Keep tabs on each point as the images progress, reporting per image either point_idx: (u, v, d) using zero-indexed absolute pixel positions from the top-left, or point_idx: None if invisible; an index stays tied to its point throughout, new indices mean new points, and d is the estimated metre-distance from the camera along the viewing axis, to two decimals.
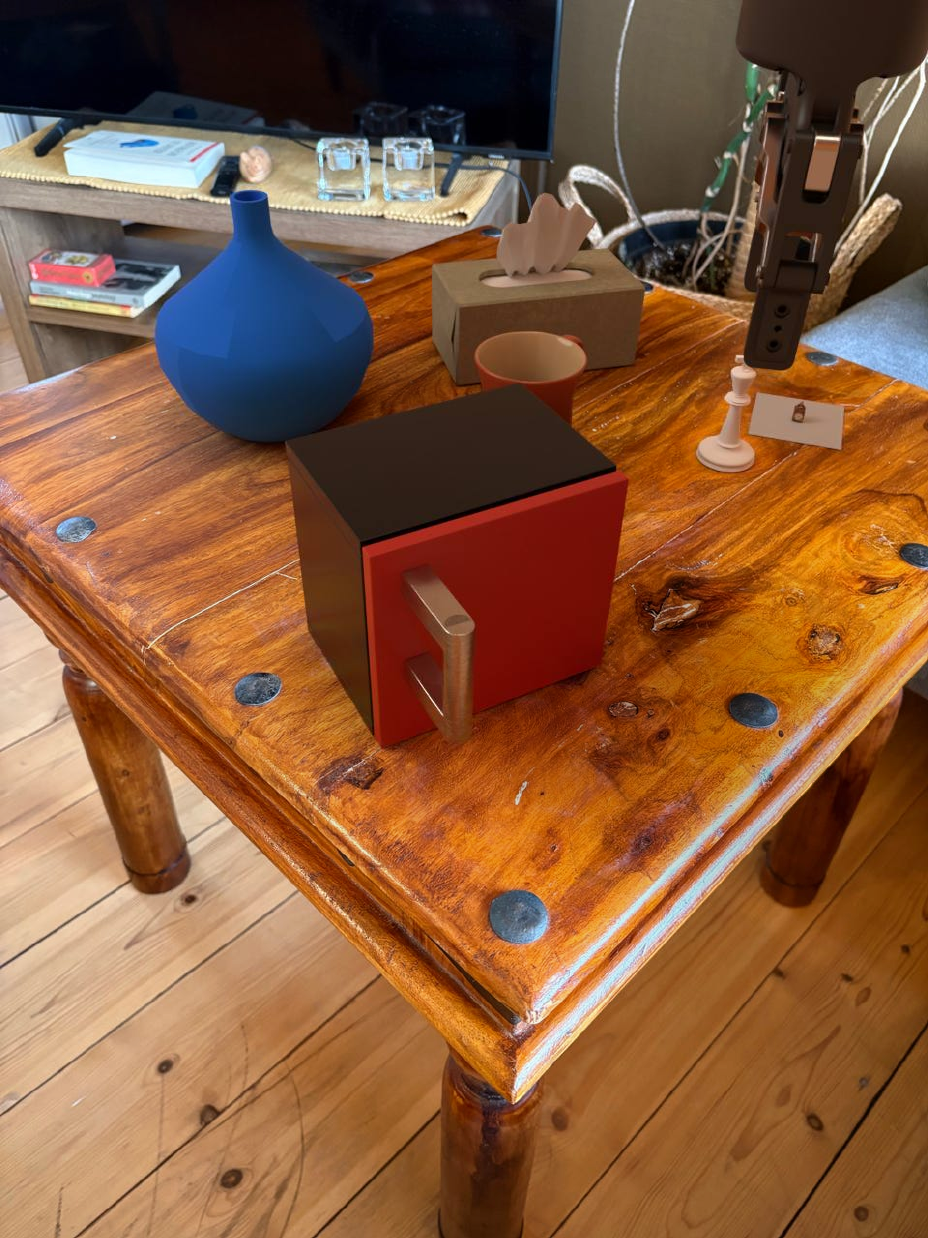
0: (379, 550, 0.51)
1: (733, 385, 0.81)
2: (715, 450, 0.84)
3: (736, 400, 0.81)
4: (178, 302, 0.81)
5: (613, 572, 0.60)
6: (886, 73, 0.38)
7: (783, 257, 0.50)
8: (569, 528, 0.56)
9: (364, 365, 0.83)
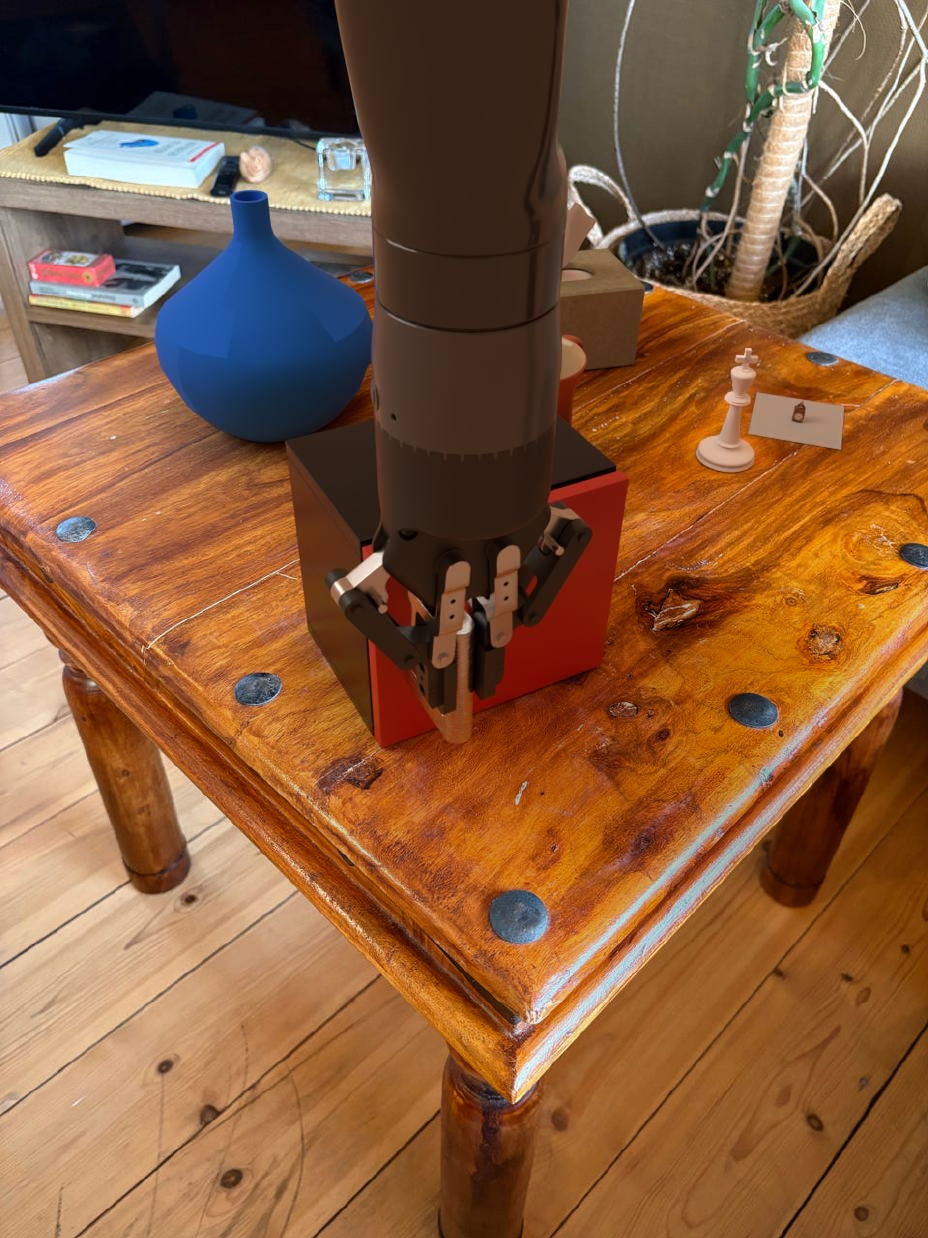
0: None
1: (733, 385, 0.81)
2: (715, 450, 0.84)
3: (736, 400, 0.81)
4: (178, 302, 0.81)
5: (613, 572, 0.60)
6: (420, 532, 0.41)
7: (479, 671, 0.50)
8: None
9: (364, 365, 0.83)
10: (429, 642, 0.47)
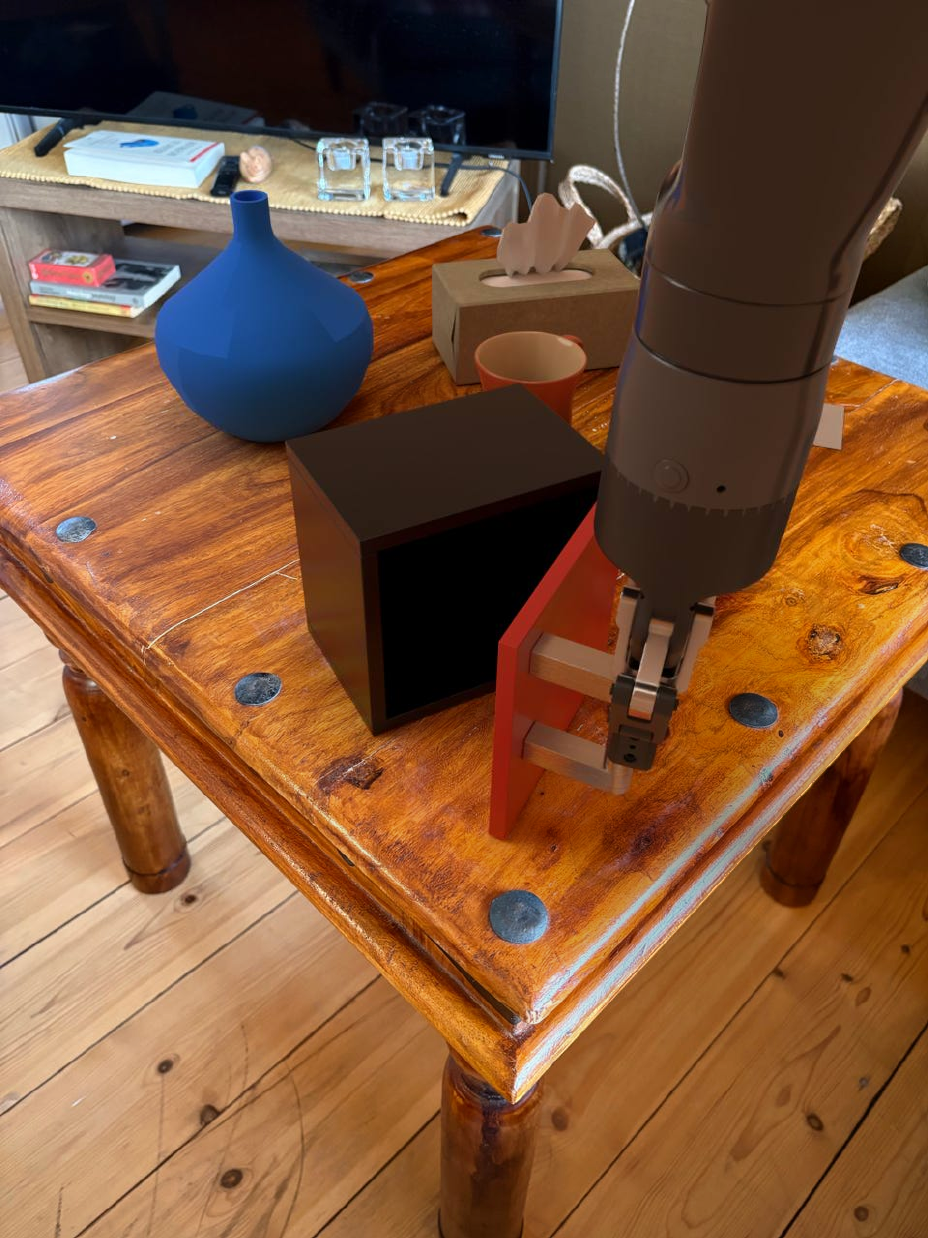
0: (518, 637, 0.46)
1: None
2: None
3: None
4: (178, 302, 0.81)
5: None
6: (723, 594, 0.38)
7: None
8: None
9: (364, 365, 0.83)
10: None
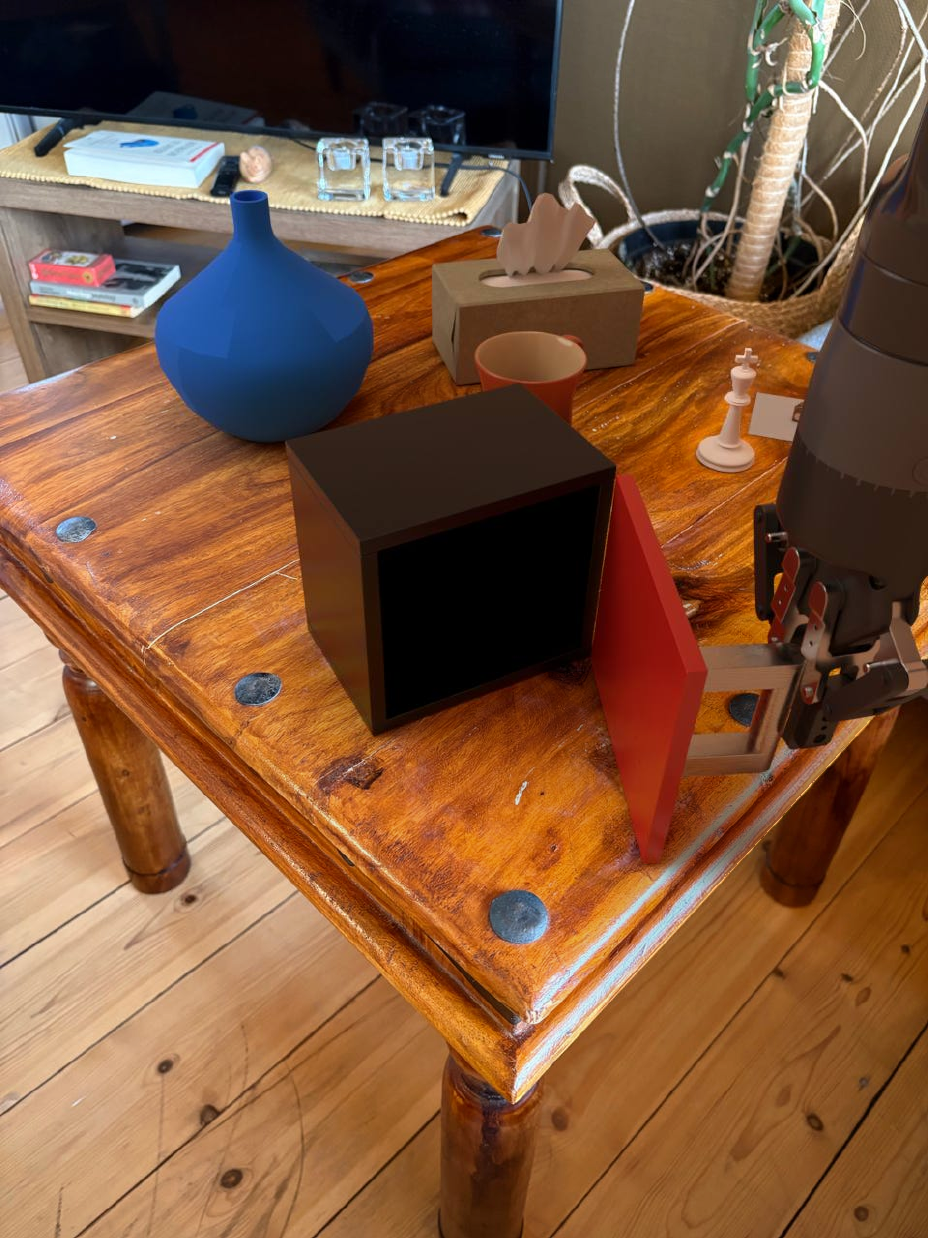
0: (698, 660, 0.45)
1: (733, 385, 0.81)
2: (715, 450, 0.84)
3: (736, 400, 0.81)
4: (178, 302, 0.81)
5: None
6: None
7: (800, 683, 0.51)
8: None
9: (364, 365, 0.83)
10: (855, 679, 0.46)
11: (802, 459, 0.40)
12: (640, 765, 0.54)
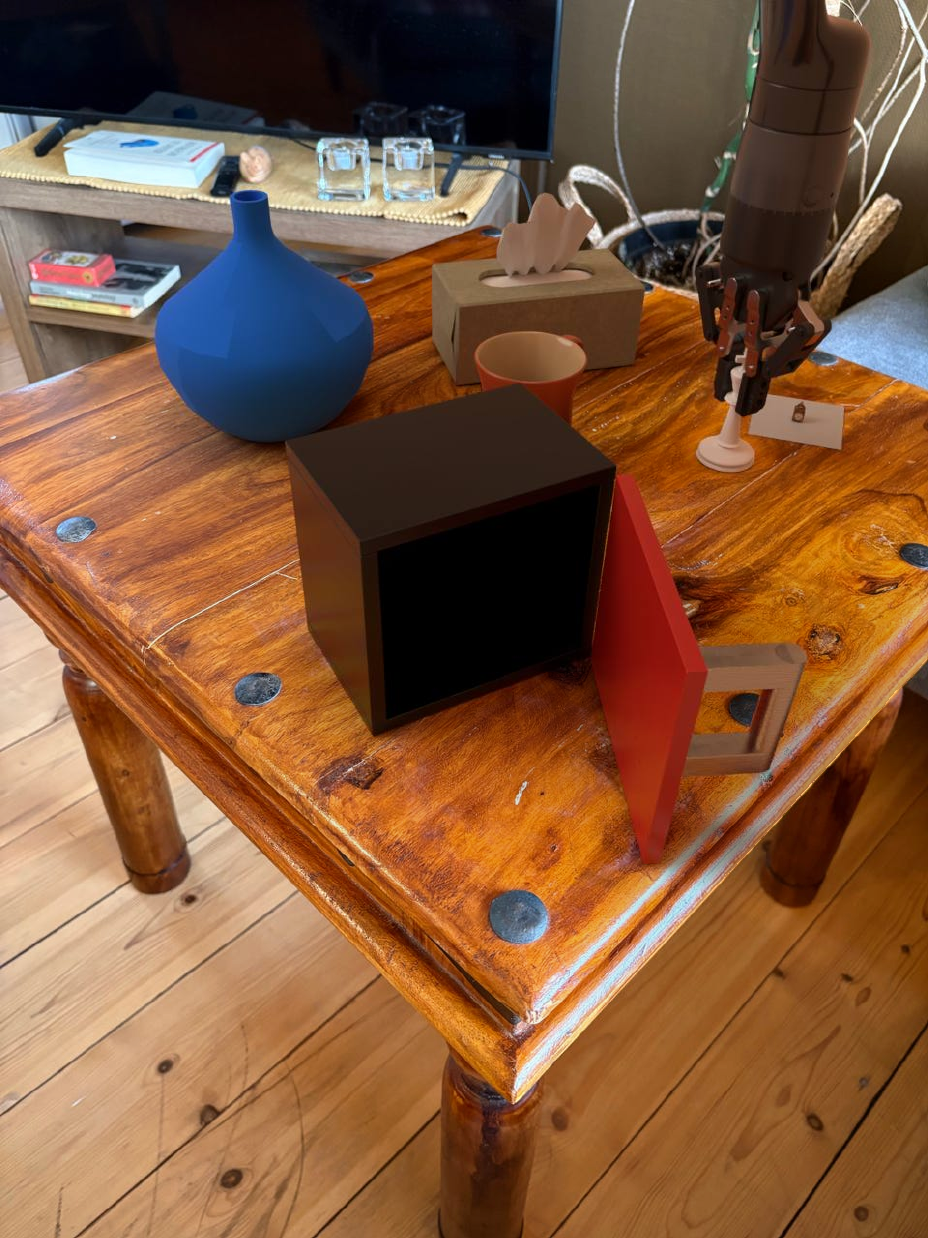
0: (698, 660, 0.45)
1: (733, 385, 0.81)
2: (715, 450, 0.84)
3: (736, 400, 0.81)
4: (178, 302, 0.81)
5: None
6: None
7: None
8: None
9: (364, 365, 0.83)
10: None
11: (738, 209, 0.70)
12: (640, 765, 0.54)
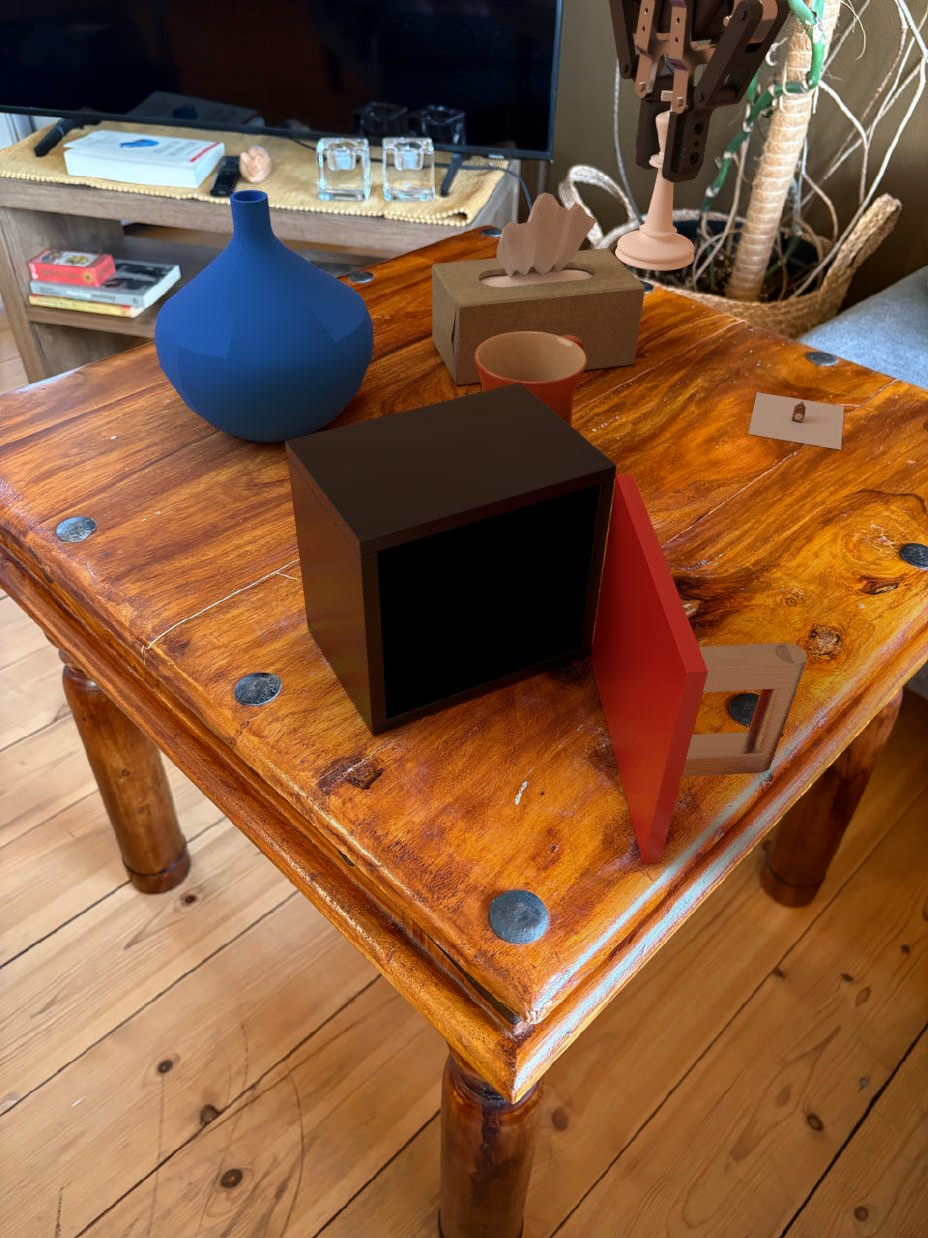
0: (698, 660, 0.45)
1: (660, 138, 0.58)
2: (639, 241, 0.61)
3: None
4: (178, 302, 0.81)
5: None
6: None
7: None
8: None
9: (364, 365, 0.83)
10: None
11: None
12: (640, 765, 0.54)
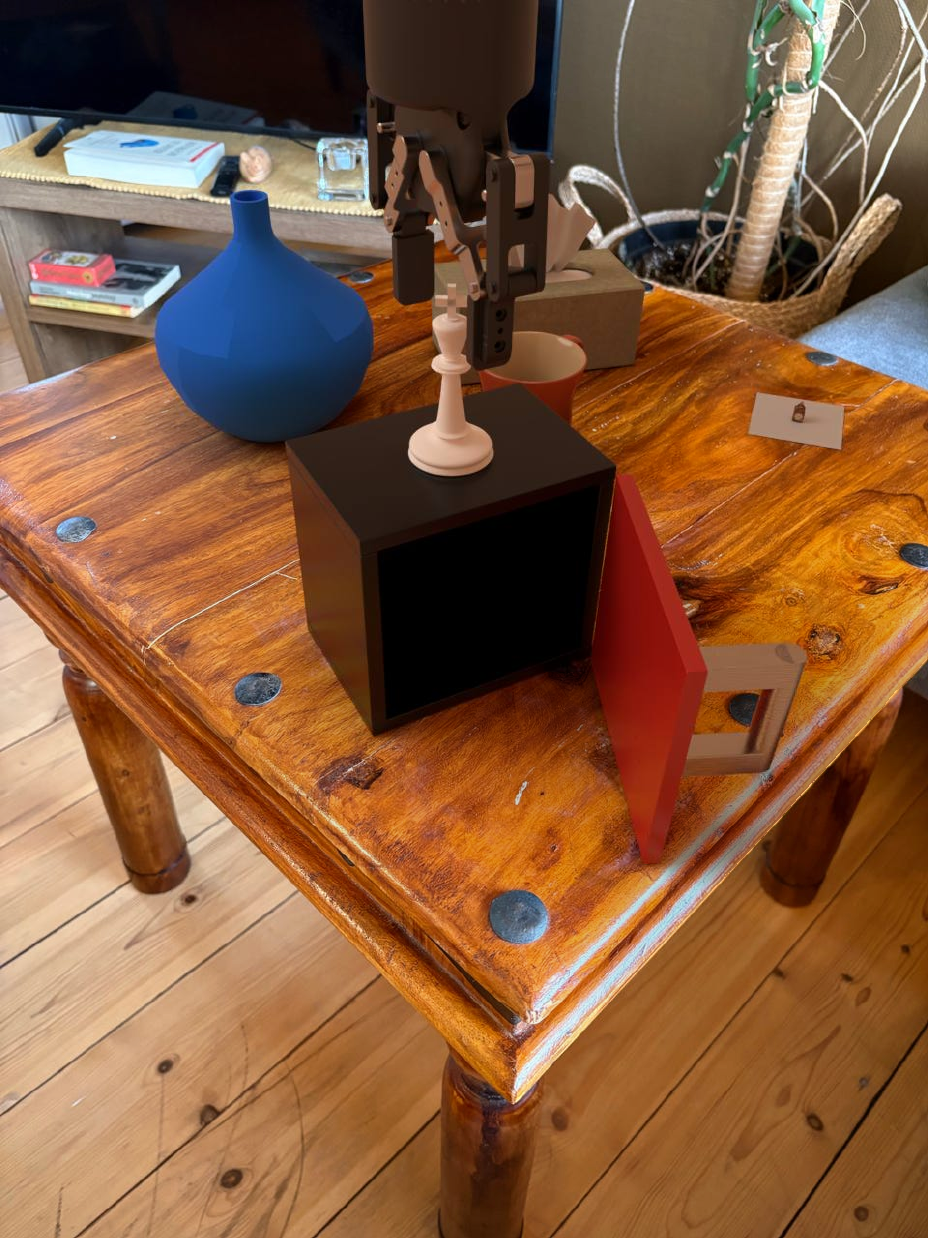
0: (698, 660, 0.45)
1: (438, 343, 0.52)
2: (429, 443, 0.56)
3: (445, 366, 0.53)
4: (178, 302, 0.81)
5: None
6: (523, 96, 0.43)
7: (425, 267, 0.54)
8: None
9: (364, 365, 0.83)
10: (510, 256, 0.46)
11: (368, 0, 0.41)
12: (640, 765, 0.54)
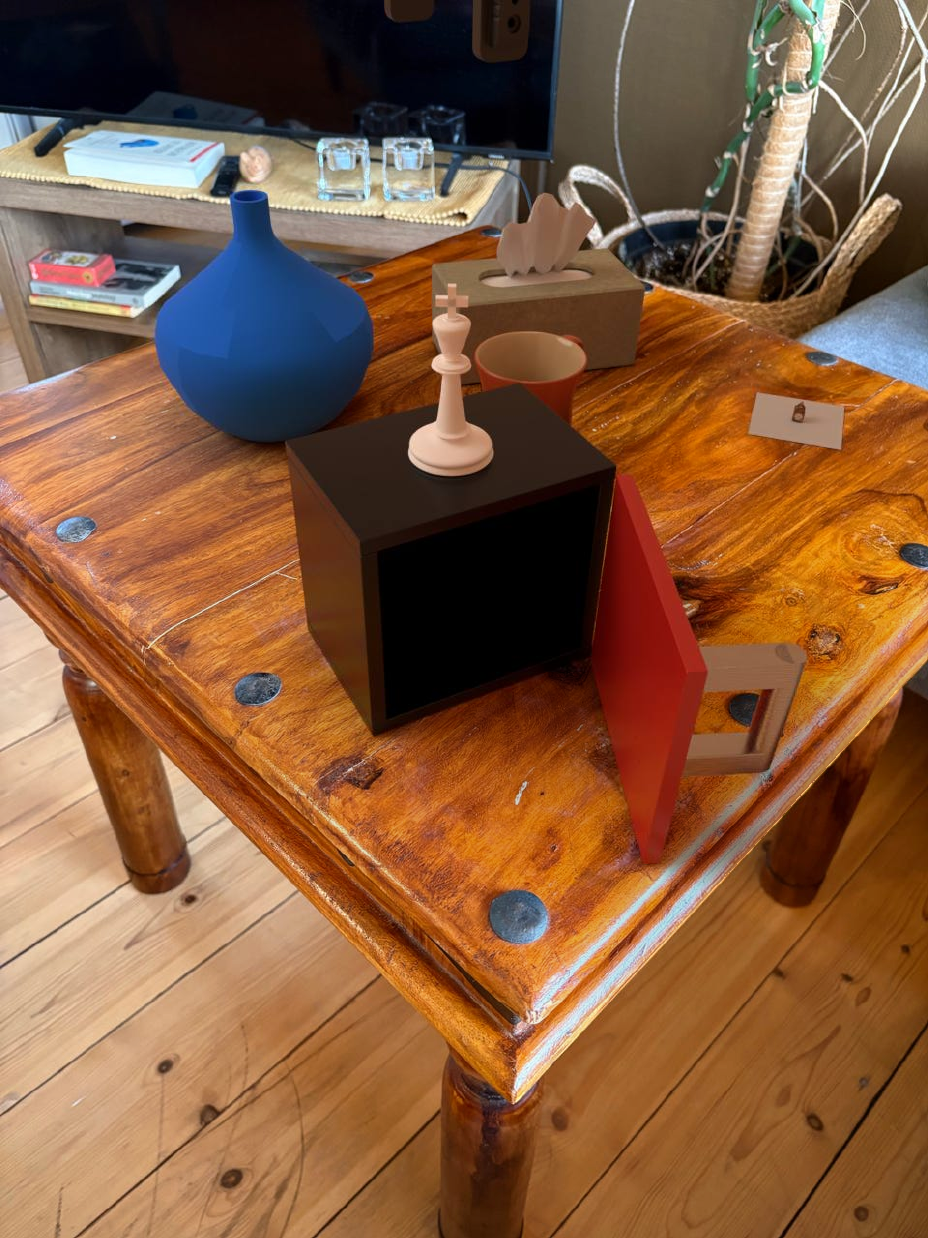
0: (698, 660, 0.45)
1: (439, 343, 0.52)
2: (430, 443, 0.56)
3: (445, 366, 0.53)
4: (178, 302, 0.81)
5: None
6: None
7: None
8: None
9: (364, 365, 0.83)
10: None
11: None
12: (640, 765, 0.54)
